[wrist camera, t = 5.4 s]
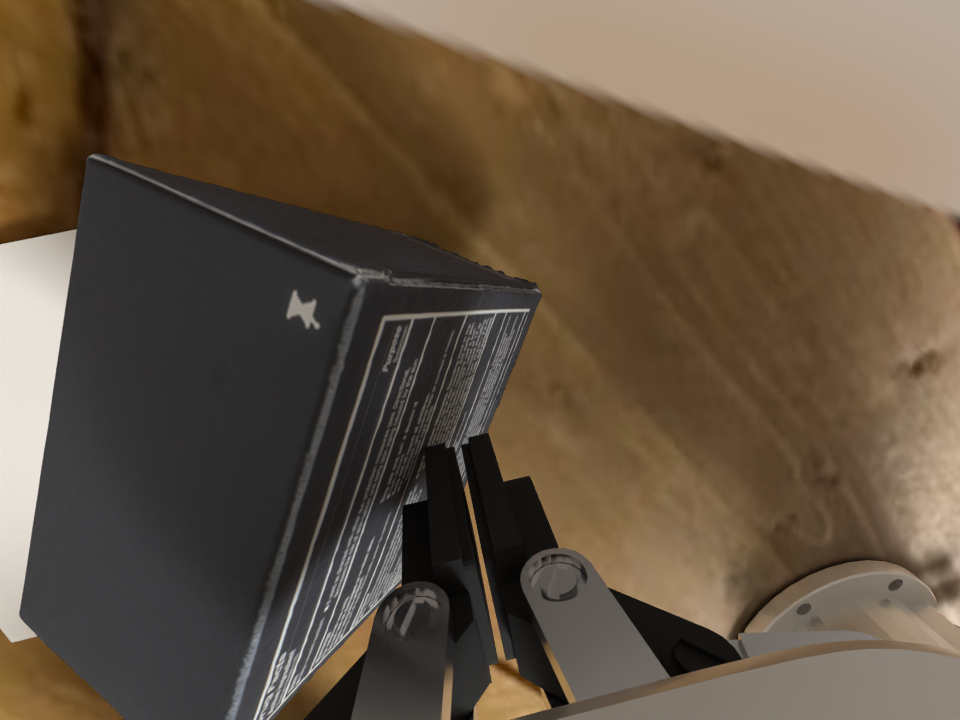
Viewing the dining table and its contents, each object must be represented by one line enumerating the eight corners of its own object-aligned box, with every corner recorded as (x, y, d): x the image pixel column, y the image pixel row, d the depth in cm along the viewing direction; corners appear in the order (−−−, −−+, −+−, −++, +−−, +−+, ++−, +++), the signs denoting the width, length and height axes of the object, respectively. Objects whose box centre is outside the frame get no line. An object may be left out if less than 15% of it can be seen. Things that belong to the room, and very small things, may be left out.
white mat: (246, 195, 17) (242, 196, 16) (369, 547, 23) (368, 555, 22) (-246, 292, 16) (-266, 296, 15) (20, 632, 22) (11, 642, 21)
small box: (387, 223, 18) (64, 127, 8) (549, 287, 16) (385, 262, 6) (311, 469, 20) (-8, 623, 11) (444, 547, 19) (210, 820, 9)
